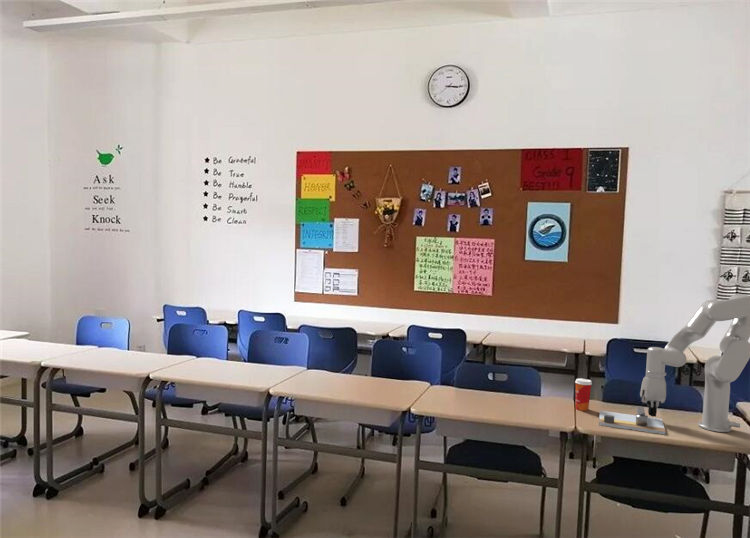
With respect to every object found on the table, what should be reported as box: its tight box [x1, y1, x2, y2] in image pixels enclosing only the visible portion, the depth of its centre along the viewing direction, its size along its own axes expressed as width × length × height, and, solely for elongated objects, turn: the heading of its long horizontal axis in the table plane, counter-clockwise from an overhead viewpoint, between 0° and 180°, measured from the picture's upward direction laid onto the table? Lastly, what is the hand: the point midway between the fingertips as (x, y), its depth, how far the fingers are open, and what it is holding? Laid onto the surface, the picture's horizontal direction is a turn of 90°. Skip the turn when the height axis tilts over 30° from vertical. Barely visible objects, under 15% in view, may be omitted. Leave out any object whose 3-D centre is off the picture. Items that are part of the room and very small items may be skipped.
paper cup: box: [574, 378, 593, 412], centre depth 279 cm, size 8×8×14 cm
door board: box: [598, 410, 666, 436], centre depth 260 cm, size 26×20×4 cm
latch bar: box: [636, 405, 649, 426], centre depth 260 cm, size 18×5×5 cm, turn 158°
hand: (652, 415), depth 264 cm, fingers closed
